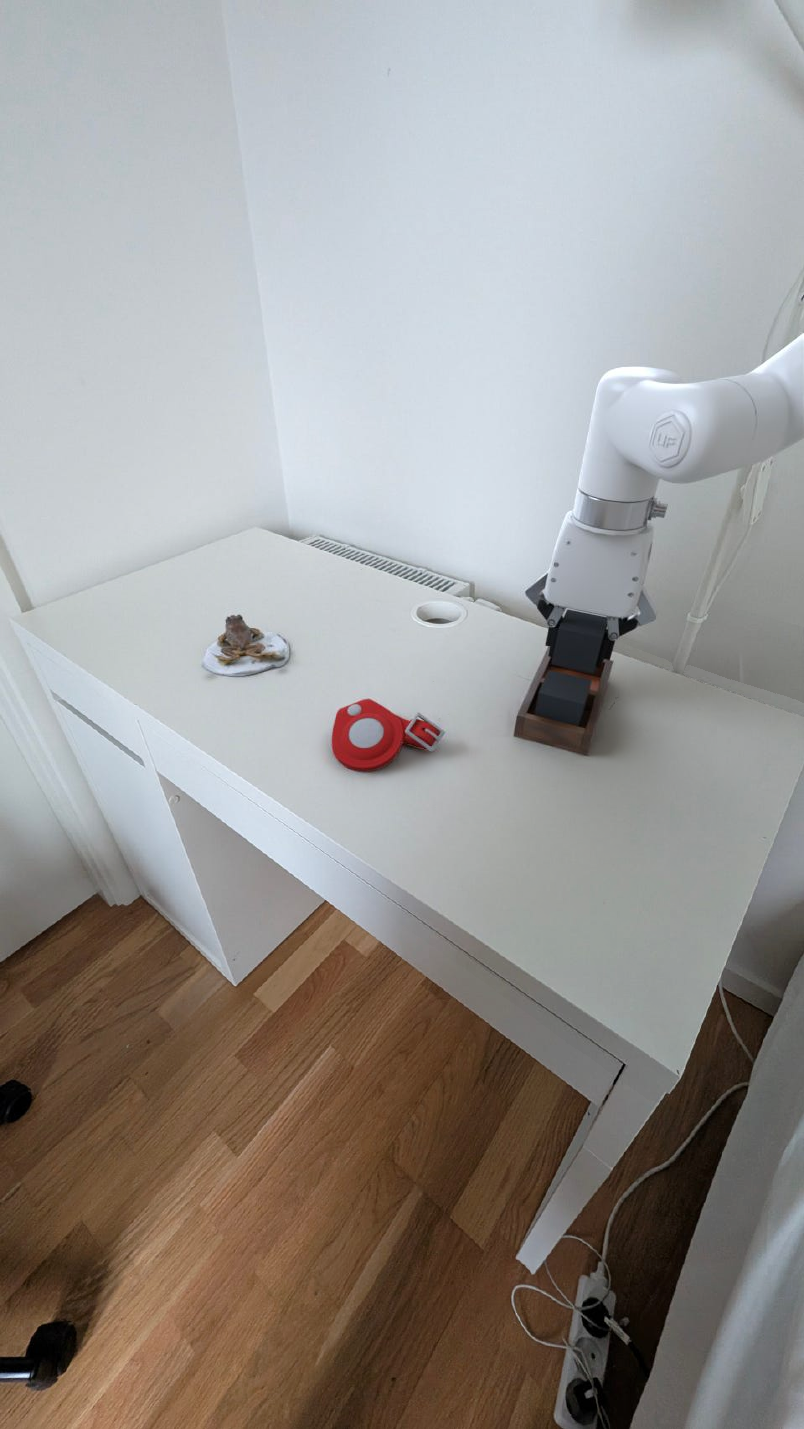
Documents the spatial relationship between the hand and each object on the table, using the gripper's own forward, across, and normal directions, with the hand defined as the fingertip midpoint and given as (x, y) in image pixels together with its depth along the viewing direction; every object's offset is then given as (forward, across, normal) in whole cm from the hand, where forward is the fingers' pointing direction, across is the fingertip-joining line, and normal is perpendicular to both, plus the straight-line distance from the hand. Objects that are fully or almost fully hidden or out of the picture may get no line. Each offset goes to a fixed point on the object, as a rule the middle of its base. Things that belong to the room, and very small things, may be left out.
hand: (576, 655), depth 71 cm
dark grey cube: (+5, 0, +8) cm, 9 cm away
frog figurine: (+6, +43, +10) cm, 44 cm away
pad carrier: (+5, 0, +4) cm, 6 cm away
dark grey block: (0, 0, 0) cm, 0 cm away
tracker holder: (+5, +17, +20) cm, 27 cm away
